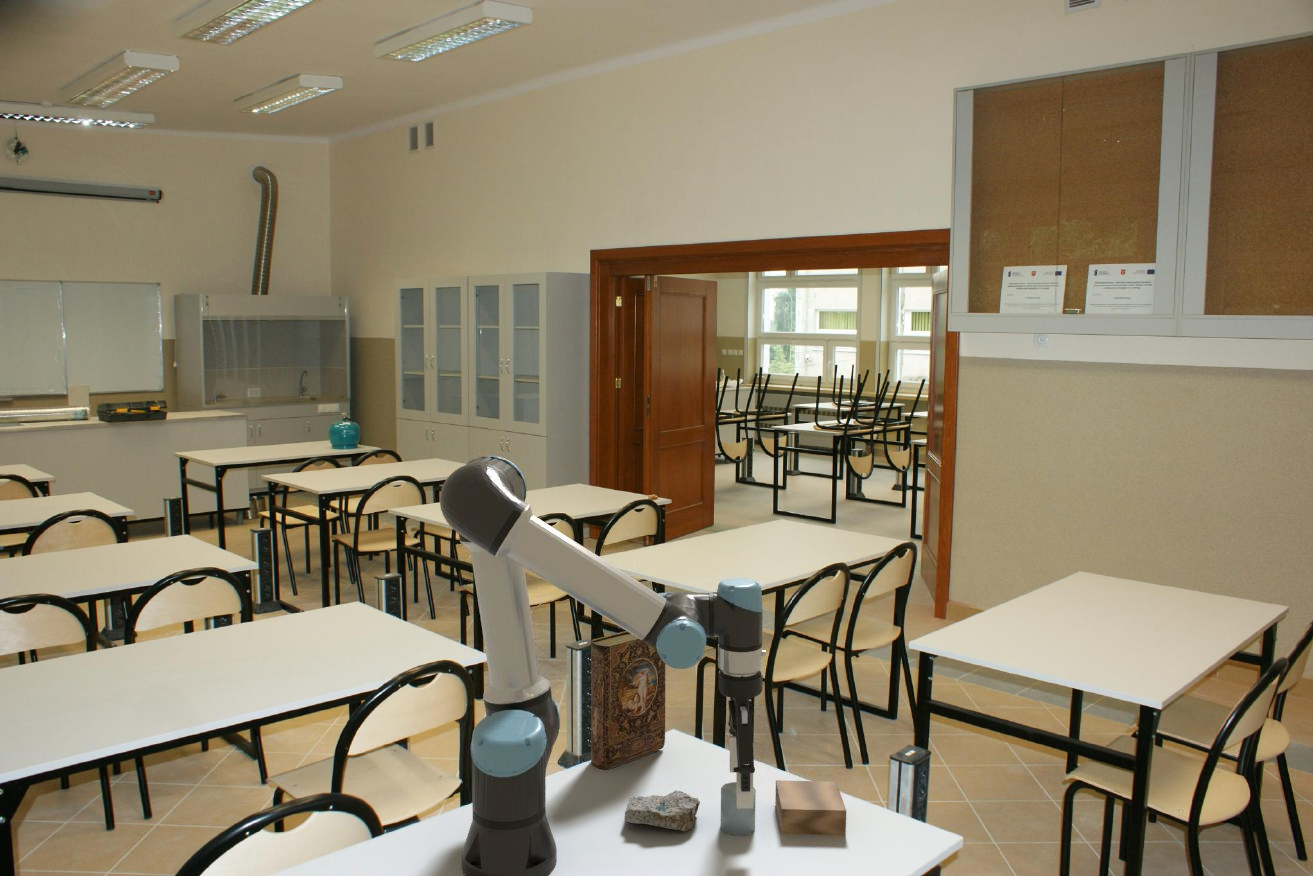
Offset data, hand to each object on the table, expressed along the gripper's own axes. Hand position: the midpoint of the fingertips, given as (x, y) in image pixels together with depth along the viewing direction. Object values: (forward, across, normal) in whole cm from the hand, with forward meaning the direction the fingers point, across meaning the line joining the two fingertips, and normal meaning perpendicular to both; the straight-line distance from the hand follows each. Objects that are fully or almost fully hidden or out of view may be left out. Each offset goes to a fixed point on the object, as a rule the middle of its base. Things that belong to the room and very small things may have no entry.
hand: (740, 789), depth 168 cm
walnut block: (+8, +3, -12) cm, 15 cm away
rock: (+8, -2, +14) cm, 16 cm away
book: (+7, +30, +21) cm, 37 cm away
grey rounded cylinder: (+7, 0, +1) cm, 7 cm away
